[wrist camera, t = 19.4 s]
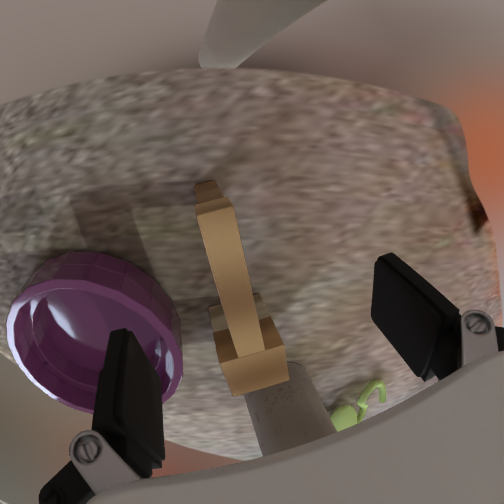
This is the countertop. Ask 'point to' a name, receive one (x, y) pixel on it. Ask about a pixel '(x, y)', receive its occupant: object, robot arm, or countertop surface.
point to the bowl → (90, 325)
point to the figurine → (347, 414)
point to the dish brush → (237, 302)
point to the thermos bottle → (288, 413)
